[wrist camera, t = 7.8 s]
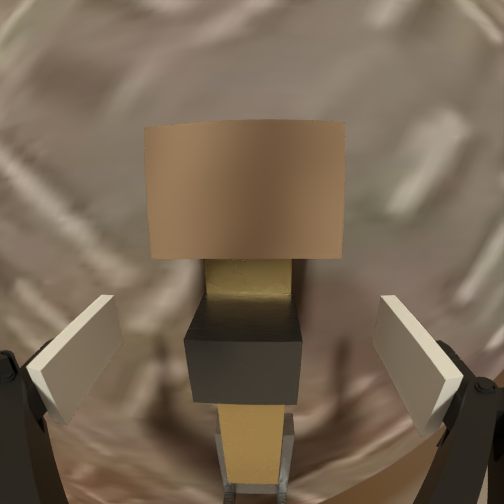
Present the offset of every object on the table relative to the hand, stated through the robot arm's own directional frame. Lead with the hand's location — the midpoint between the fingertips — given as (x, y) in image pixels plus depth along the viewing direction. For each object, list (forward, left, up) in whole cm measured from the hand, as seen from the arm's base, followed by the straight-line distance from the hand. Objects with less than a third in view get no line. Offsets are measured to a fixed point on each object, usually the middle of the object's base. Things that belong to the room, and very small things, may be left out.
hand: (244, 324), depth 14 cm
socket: (0, +6, -6) cm, 9 cm away
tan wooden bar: (0, -4, -5) cm, 6 cm away
